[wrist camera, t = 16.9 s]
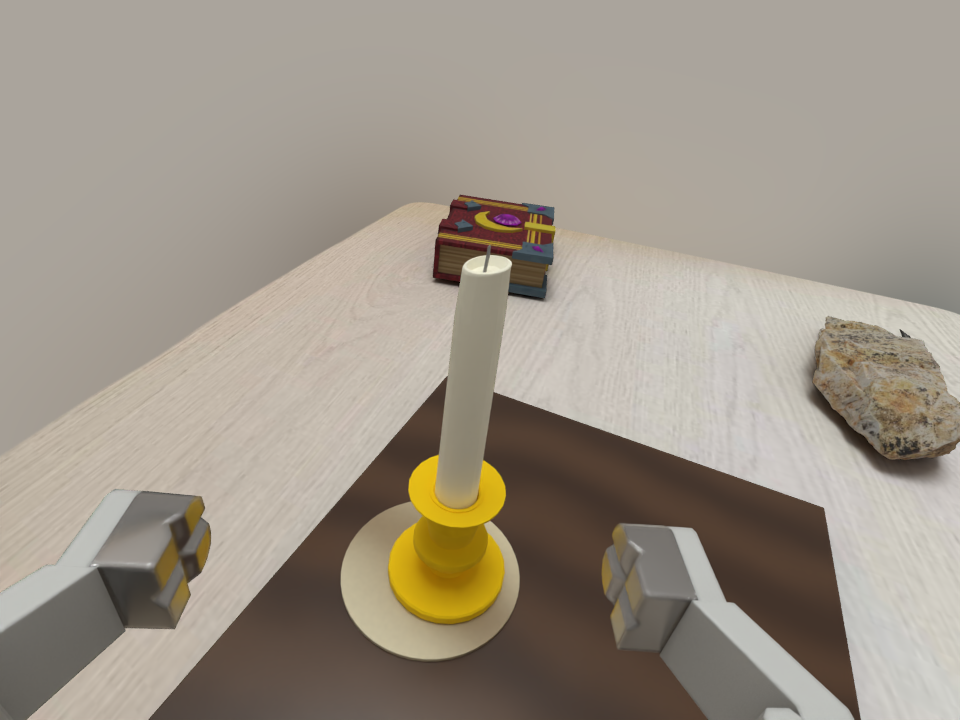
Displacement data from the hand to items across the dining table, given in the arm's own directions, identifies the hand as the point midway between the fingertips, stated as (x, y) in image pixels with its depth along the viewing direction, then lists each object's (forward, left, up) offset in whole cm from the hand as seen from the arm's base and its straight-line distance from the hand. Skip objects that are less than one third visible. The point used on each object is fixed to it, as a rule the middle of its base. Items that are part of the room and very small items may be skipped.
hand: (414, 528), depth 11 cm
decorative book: (+22, +42, -14) cm, 50 cm away
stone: (+43, +13, -15) cm, 47 cm away
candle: (+4, +7, -13) cm, 15 cm away
